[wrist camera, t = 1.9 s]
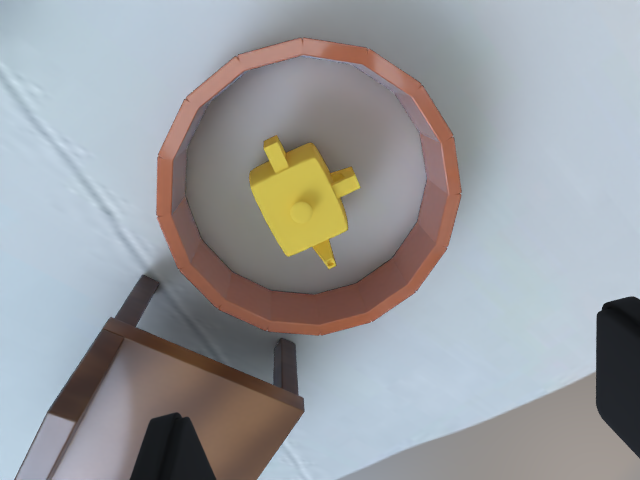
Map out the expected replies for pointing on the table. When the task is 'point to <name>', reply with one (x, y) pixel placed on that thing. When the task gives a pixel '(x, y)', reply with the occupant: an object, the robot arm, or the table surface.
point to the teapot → (302, 198)
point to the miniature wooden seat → (161, 405)
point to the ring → (337, 304)
